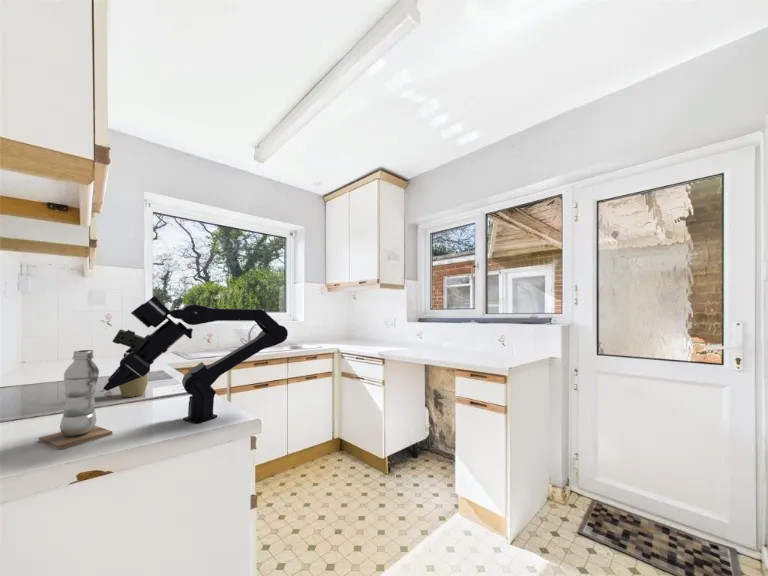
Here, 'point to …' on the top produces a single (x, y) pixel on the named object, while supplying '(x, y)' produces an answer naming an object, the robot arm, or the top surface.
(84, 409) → the plastic bottle
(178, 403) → the top surface
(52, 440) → the walnut board
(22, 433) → the top surface
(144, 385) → the squeeze bottle
